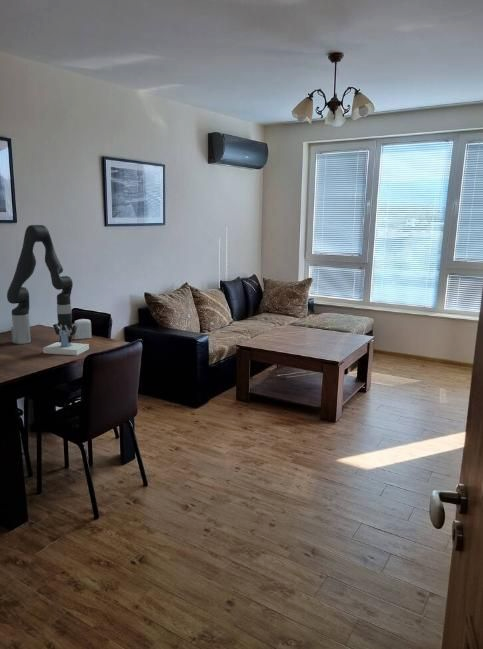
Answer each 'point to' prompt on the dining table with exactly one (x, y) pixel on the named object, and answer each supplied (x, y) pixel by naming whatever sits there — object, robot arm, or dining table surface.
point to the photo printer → (83, 329)
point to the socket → (66, 349)
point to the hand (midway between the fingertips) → (66, 342)
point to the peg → (65, 340)
